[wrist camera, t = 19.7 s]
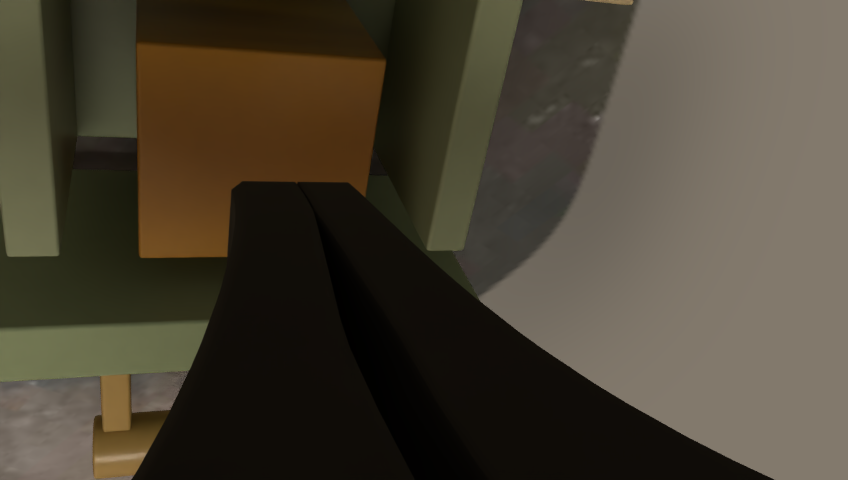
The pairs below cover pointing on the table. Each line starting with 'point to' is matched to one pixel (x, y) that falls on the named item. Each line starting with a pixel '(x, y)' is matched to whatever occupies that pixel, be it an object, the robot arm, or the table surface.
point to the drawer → (118, 189)
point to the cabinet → (614, 1)
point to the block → (245, 109)
